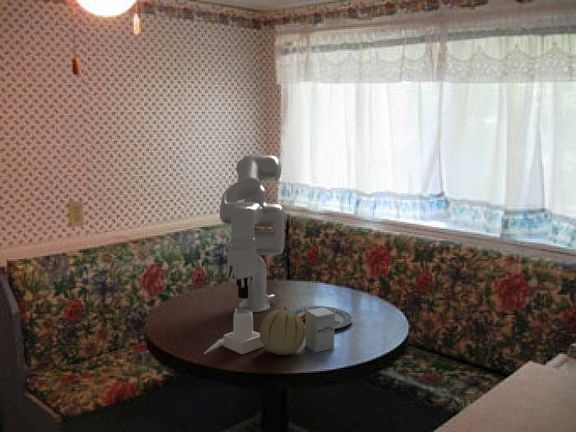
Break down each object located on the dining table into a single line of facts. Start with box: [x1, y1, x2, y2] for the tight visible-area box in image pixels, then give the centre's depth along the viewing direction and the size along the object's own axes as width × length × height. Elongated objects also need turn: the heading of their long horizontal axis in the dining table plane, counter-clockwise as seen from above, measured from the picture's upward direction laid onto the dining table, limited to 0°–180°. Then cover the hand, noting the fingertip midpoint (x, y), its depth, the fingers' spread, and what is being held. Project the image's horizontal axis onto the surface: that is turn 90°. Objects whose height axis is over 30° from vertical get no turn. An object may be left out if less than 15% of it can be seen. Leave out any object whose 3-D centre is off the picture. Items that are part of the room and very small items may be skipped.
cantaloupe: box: [259, 306, 305, 356], centre depth 187 cm, size 15×15×15 cm
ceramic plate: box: [289, 305, 353, 330], centre depth 217 cm, size 26×26×3 cm
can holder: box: [222, 330, 264, 355], centre depth 194 cm, size 10×10×4 cm
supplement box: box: [304, 308, 335, 354], centre depth 192 cm, size 7×7×13 cm
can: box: [232, 307, 254, 341], centre depth 193 cm, size 6×6×12 cm
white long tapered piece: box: [203, 338, 224, 355], centre depth 193 cm, size 15×3×2 cm, turn 151°
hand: (243, 297), depth 191 cm, fingers closed
